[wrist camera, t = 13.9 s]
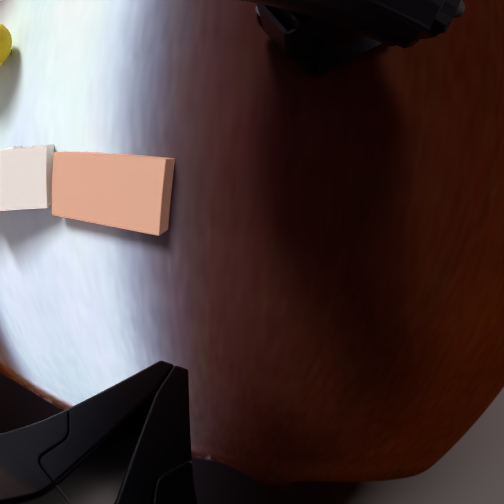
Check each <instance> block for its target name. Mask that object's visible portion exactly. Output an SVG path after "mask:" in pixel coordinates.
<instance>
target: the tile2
mask: <svg viewBox="0 0 504 504" xmlns="http://www.w3.org/2000/svg"><path fill="white" fill-rule="evenodd" d="M53 155H54V145H42V146H32V147H22V148H14V149H6V150H0V211H7V210H23V209H40V208H48V207H49V206H51V205H52V172H53Z"/></svg>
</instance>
